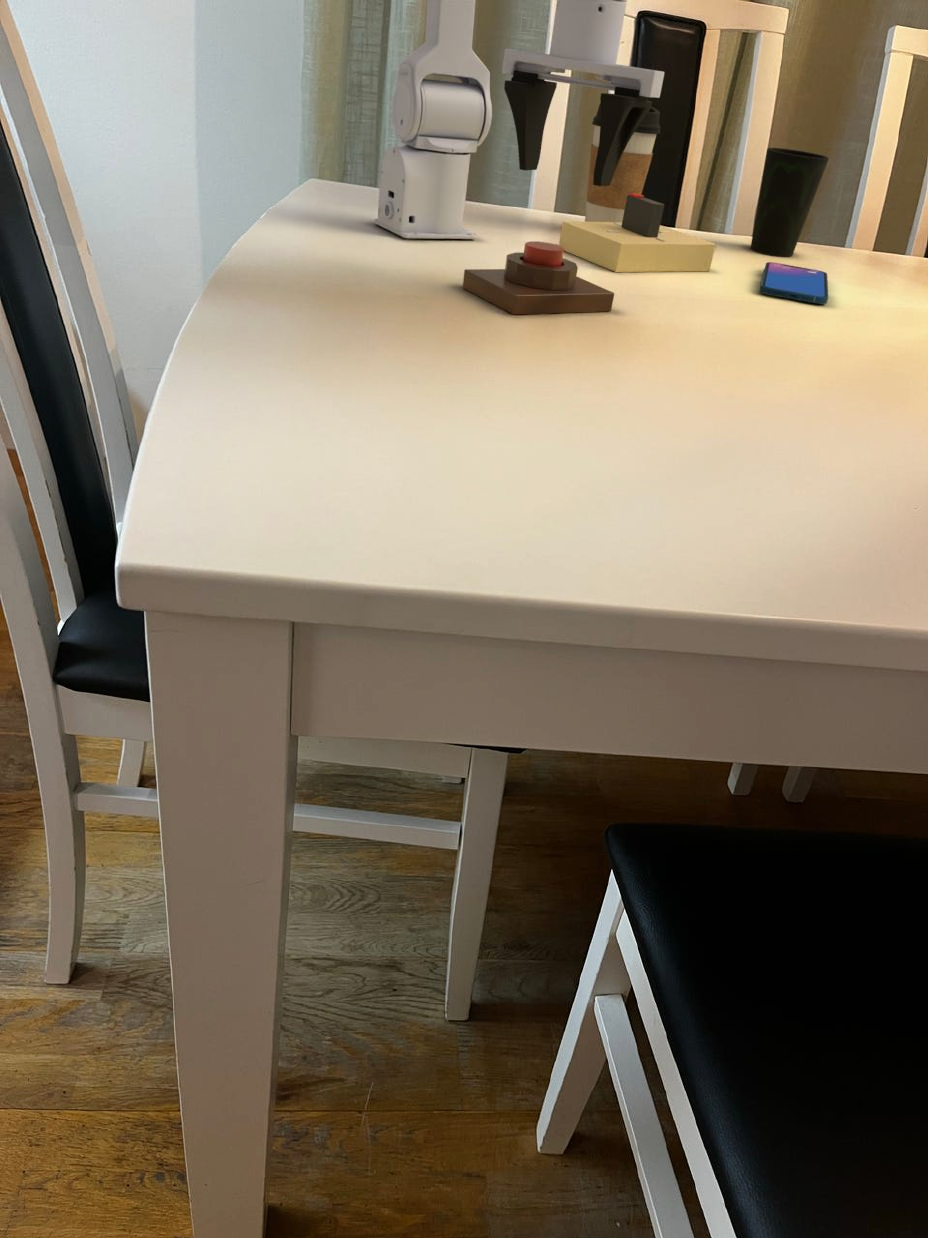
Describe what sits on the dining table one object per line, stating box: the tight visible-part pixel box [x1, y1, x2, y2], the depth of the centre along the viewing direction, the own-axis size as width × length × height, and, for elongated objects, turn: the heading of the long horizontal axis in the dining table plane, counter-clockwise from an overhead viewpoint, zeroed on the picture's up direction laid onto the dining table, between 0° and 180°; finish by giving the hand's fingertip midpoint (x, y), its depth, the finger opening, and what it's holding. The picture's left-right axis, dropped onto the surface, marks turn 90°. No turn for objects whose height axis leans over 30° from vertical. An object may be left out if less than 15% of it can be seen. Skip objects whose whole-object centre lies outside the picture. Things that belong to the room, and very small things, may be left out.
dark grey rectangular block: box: [621, 193, 665, 237], centre depth 111 cm, size 5×2×4 cm, turn 27°
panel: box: [558, 220, 717, 273], centre depth 112 cm, size 14×11×3 cm
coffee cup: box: [584, 103, 661, 223], centre depth 121 cm, size 8×8×15 cm
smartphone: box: [759, 261, 829, 305], centre depth 110 cm, size 7×1×15 cm
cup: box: [750, 147, 830, 258], centre depth 126 cm, size 8×8×12 cm
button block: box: [462, 252, 615, 316], centre depth 90 cm, size 11×9×4 cm
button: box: [523, 240, 565, 267], centre depth 89 cm, size 4×4×2 cm
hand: (564, 177), depth 87 cm, fingers open, 7 cm apart
